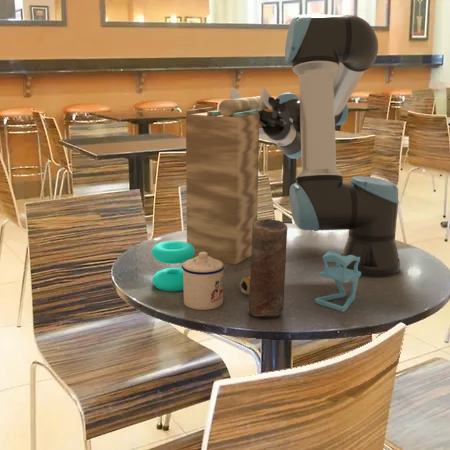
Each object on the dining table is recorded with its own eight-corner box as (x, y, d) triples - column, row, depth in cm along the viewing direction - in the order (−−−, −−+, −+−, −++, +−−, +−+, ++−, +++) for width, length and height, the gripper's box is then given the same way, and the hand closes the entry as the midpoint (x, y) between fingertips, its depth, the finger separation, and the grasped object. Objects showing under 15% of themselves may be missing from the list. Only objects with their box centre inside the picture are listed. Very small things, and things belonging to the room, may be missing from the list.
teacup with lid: (219, 312, 140) (219, 260, 137) (177, 309, 141) (177, 257, 138) (229, 292, 151) (230, 244, 148) (191, 289, 153) (191, 241, 150)
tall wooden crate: (210, 244, 188) (210, 106, 178) (256, 252, 180) (259, 109, 170) (187, 255, 178) (185, 110, 168) (234, 264, 170) (236, 113, 160)
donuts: (197, 250, 149) (153, 252, 147) (197, 291, 151) (154, 294, 150) (191, 238, 158) (150, 240, 157) (191, 277, 161) (151, 279, 159)
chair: (364, 301, 146) (367, 250, 143) (343, 312, 140) (346, 258, 137) (335, 293, 151) (337, 243, 148) (314, 302, 145) (316, 251, 142)
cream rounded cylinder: (253, 110, 179) (253, 95, 178) (266, 111, 177) (266, 96, 176) (219, 115, 164) (219, 99, 163) (232, 116, 162) (233, 100, 161)
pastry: (273, 284, 157) (274, 269, 156) (286, 294, 151) (286, 278, 150) (237, 289, 154) (237, 274, 153) (248, 299, 148) (248, 283, 147)
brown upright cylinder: (283, 307, 142) (286, 218, 137) (285, 321, 135) (288, 228, 130) (248, 307, 143) (249, 218, 137) (248, 320, 136) (250, 227, 130)
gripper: (309, 143, 184) (279, 107, 165) (243, 138, 195) (208, 103, 175) (315, 119, 186) (287, 81, 166) (250, 114, 196) (216, 78, 177)
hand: (246, 92), depth 171 cm, fingers open, 8 cm apart
